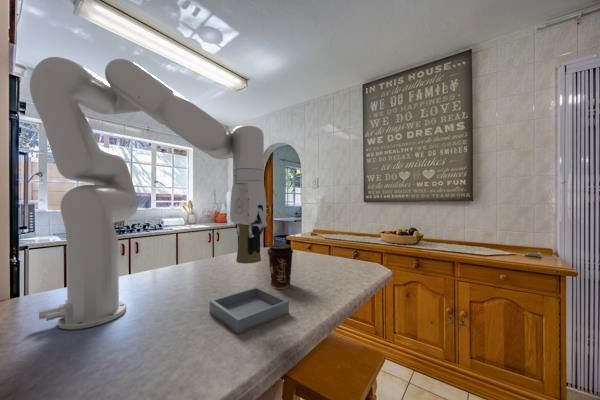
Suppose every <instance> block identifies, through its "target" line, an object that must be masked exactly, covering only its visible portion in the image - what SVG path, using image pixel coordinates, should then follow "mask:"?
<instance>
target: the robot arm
mask: <svg viewBox="0 0 600 400" xmlns="http://www.w3.org/2000/svg"><path fill="white" fill-rule="evenodd" d="M104 75H105V79H106V80H105V79H103V78H102V77H100V76H98V75H97V74H96V73H95V72H93V71H91V70H89V69H88V68H87V67H85V66H83V65H81V64H79V63H78V62H75V61H73V60H71V59H67V58H64V57H59V56H50V57H46V58H44V59H42V60H41V61H40V62H39V63H37V65H36V66H35V67H34V69H33V70H32V72H31V75H30V78H29V92H30V96H31V100H32V103H33V105H34V107H35V110H36V111H37V115H38V117H39V118H40V121H41V122H42V125H43V129H44V131H45V135H46V140H47V142H48V145H49V148H50V151H51V154H52V157H53V161H54V163H55V167H56V168H57V171H58V172H59V174H60V176H62V177H64V178H65V179H68V180H71V181H75V182H84V183H93V184H85V185H79V186H75V187H73V188H70V189H69V190H68V191H67V192H65V194H64V195H63V197H62V198H61V201H60V213H61V217H62V221H63V225H64V228H65V229H64V230H65V235H66V237H65V239H66V278H67V279H66V286H67V287H66V288H67V289H66V291H67V293H66V294H67V296H66V298H67V299H65V301H64V304H60V305H59V306H58V307H53V308H47V309H42V310H39V311H38V320H40V321H41V320H45V319H46V322H49V321H52V320H56V319H58V321H57V326H58V327H59V328H60V329H62V330H80V329H81V330H83V329H87V328H92V327H96V326H99V325H103V324H105V323H108V322H111V321H113V320H115V319H116V320H117V319H118V318H119V317H121V316H122V315H124V313H126V312H127V304H126V303H125V302H123V301H119V300H120V299H119V297H120V295H119V293H120V292H119V291H120V287H119V285H120V283H119V282H120V281H119V279H120V278H119V277H120V276H119V272H120V271H119V267H120V266H119V263H120V262H119V238H118V233H117V231H116V229H115V226H114V224H113V223H118V222H119V223H120V222H123V221H127V220H129V219H131V218H133V217H134V216H135V214H136V213H137V210H138V207H139V206H138V205H139V199H138V195H137V192H136V189H135V186H134V183H133V179H132V176H131V173H130V170H129V168H128V165H127V162H126V161H125V160H124V158H123V157H122V156H121V155H120V154H119V152H118V153H117V152H116V151H114V150H112V149H110V148H107V147H104V146H103V147H102V146H101V145H99V143H98V142H97V139H96V137H95V134H94V130H93V127H92V125H91V122H90V121H89V118H88V117H87V116H86V114H85V113H84V112H83V110H82V109H81V107H80V106H83V107H85V108H86V109H89V110H91V111H92V112H93V111H94V112H95V113H98V114H103V115H119V114H128V113H138V112H139V113H140V112H143V113H145V114H146V115H148V116H149V117H150V118H152V119H153V120H155V121H156V122H157V123H159V124H160V125H163V126H165V128H168V129H170V130H171V131H172V132H173V133H175V134H176V135H178V136H179V137H180V138H182V139H183V140H184V141H186V142H187V143H189V144H191V145H192V146H193V147H195V148H196V149H197V150H199V151H201V152H203V153H205V154H206V155H208V156H210V157H212V158H213V159H216V160H228V159H232V187H231V194H230V209H229V220H230V222H231V223H232V224H234V226H235V229H236V235H237V245H238V244H239V236H240V229H239V227H238V224H243V225H249V236H250V237H248V254H253V252H254V251H256V252H257V253H260V254H261V237H262V235H263V234H262V233H263V232H264V230H265V229H266V228H267V227H268V222H267V197H266V188H265V179H264V178H265V169H264V168H265V167H264V166H265V165H264V164H265V162H264V161H265V154H264V153H265V152H264V151H265V146H264V143H265V142H264V141H265V138H264V137H265V136H264V132H263V130H262V129H261V128H260V127H258V126H253V125H239V126H236V127H235V128H234V129H233V131H230V130H229V129H227V128H226V127H225V126H224V125H223V124H222V123H221V122H219V121H218V120H217V119H216V118H215V117H213V116H211V115H210V114H208V113H207V112H206V111H205V110H203V109H201V108H200V107H199V106H197V105H196V104H194V103H193V102H191V101H190V100H189V99H187V98H185V97H184V96H183V95H182V94H180V93H179V92H177V91H175V90H174V89H173V88H171V87H170V86H169V85H167V83H166V84H165V83H164V82H163V81H162V80H160V79H158V78H157V77H156V76H155V75H153V74H151V73H150V72H149V71H147V70H146V69H145V68H143V67H142V66H140V65H139V64H137V63H135V62H134V61H130V60H128V59H124V58H116V59H113V60H110V61H109V62H108V63H107V65H106V66H105V70H104ZM255 221H257V224H252V222H255ZM254 226H257V227H255V228H254V230H253V227H254Z"/></svg>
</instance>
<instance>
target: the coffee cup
mask: <svg viewBox="0 0 600 400" xmlns="http://www.w3.org/2000/svg"><path fill="white" fill-rule="evenodd" d="M293 253H294V250H293V248H292V247H291V244H285V243H277V244H271V245H269V248H268V249H267V255H268V260H269V271H270V272H269V273H270V287H271V288H272V289H275V290H278V289H279V290H284V289H287V288H289V287H290V286H291V275H292V267H293V264H292V263H293Z"/></svg>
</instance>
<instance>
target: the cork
mask: <svg viewBox="0 0 600 400" xmlns="http://www.w3.org/2000/svg"><path fill="white" fill-rule="evenodd" d="M252 224H257V221H255V222H252ZM238 227H239V229H240V236H239V244H238V243H237V251H236V253H237V254H236V260H235V262H236V263H238V264H254V263H259V262H261V261H262V258H261V252H260V253H257V252H256V251H254V252H253V254H248V237H250V236H249V225H243V224H238ZM255 227H257V226H254V227H253V230H254V228H255Z"/></svg>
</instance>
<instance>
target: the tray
mask: <svg viewBox="0 0 600 400" xmlns="http://www.w3.org/2000/svg"><path fill="white" fill-rule="evenodd" d="M209 313H210V315H212V316H213V317H215V318H216V319H217V320H218V321H220V322H221V323H222V324H224V326H226V327H228V328H229V329H230V330H231V331H233V332H234V333H235V334H237V335H240V334H241V335H242V334H243V333H245V332H247V331H248V332H249V331H251V330H252V329H255V328H257V327H260V326H263V325H265V324H267V323H269V322H271V321H275V320H276V319H279V318H281V317H283V316H285V315H288V314H290V301H289V300H288V299H285V298H283V297H281V296H278V295H276V294H273V293H271V292H269V291H267V290H265V289H263V288H261V287H258V286H256V287H251V288H248V289H245V290H241V291H238V292H235V293H231V294H227V295H224V296H220V297H218V298H212V299H210V300H209Z"/></svg>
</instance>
